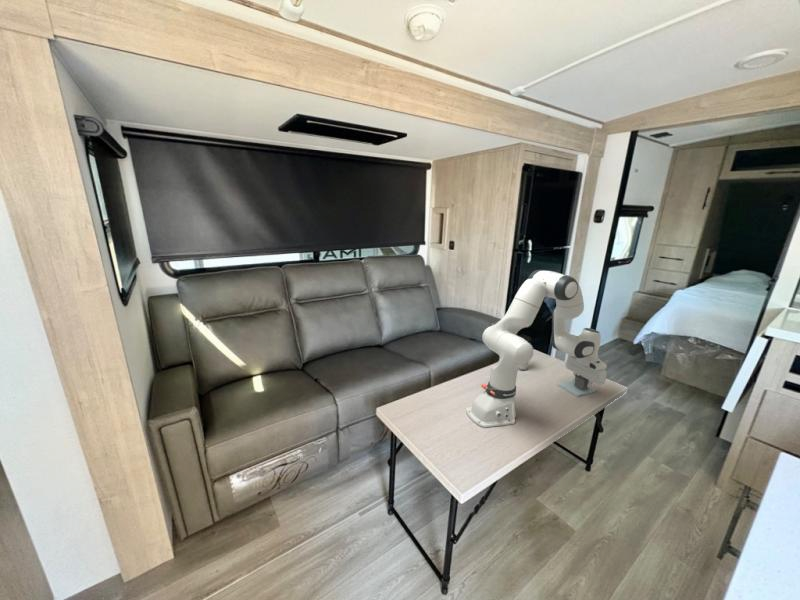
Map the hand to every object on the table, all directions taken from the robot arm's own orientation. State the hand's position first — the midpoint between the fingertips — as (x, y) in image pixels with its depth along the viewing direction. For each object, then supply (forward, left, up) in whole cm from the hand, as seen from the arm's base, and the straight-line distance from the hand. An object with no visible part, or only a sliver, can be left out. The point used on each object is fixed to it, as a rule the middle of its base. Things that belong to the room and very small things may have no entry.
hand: (582, 383), depth 161 cm
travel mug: (-12, +30, -4) cm, 32 cm away
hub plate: (-1, +2, -4) cm, 4 cm away
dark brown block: (0, 0, -2) cm, 2 cm away
